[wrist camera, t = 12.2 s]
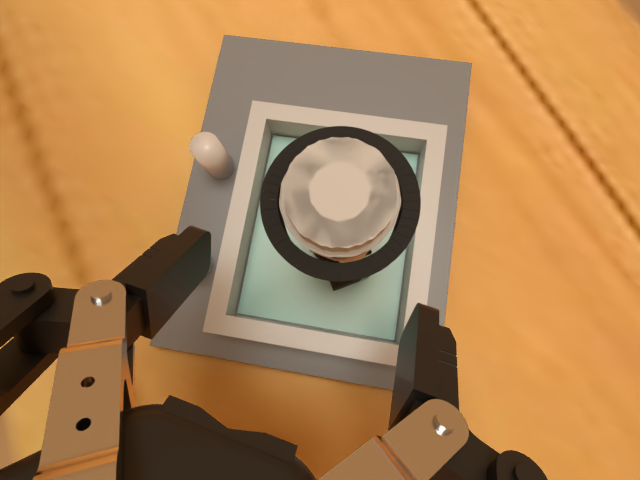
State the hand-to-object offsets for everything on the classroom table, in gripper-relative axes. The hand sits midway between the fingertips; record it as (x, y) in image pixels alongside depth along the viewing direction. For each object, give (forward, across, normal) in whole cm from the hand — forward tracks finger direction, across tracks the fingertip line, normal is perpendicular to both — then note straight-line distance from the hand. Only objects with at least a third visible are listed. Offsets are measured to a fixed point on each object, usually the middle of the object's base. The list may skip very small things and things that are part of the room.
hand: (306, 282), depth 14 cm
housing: (+10, +2, +2) cm, 10 cm away
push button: (+8, 0, +3) cm, 8 cm away
